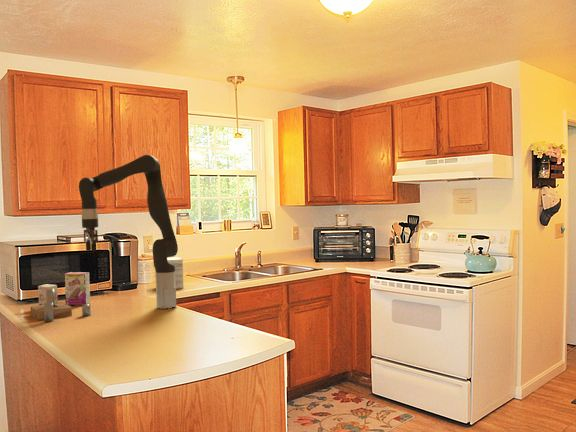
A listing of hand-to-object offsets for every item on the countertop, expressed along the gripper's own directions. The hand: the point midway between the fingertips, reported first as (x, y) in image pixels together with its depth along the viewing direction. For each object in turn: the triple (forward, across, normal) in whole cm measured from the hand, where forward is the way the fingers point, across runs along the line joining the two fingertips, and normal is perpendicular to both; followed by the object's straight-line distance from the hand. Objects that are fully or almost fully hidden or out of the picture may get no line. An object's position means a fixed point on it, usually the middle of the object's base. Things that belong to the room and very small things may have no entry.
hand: (91, 250), depth 252 cm
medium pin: (+28, -19, +25) cm, 42 cm away
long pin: (+28, -6, +21) cm, 35 cm away
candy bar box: (+28, +12, +4) cm, 31 cm away
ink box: (+28, +12, +18) cm, 36 cm away
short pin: (+28, -19, +9) cm, 35 cm away
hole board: (+28, -6, +21) cm, 35 cm away
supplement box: (+28, +27, -54) cm, 67 cm away
